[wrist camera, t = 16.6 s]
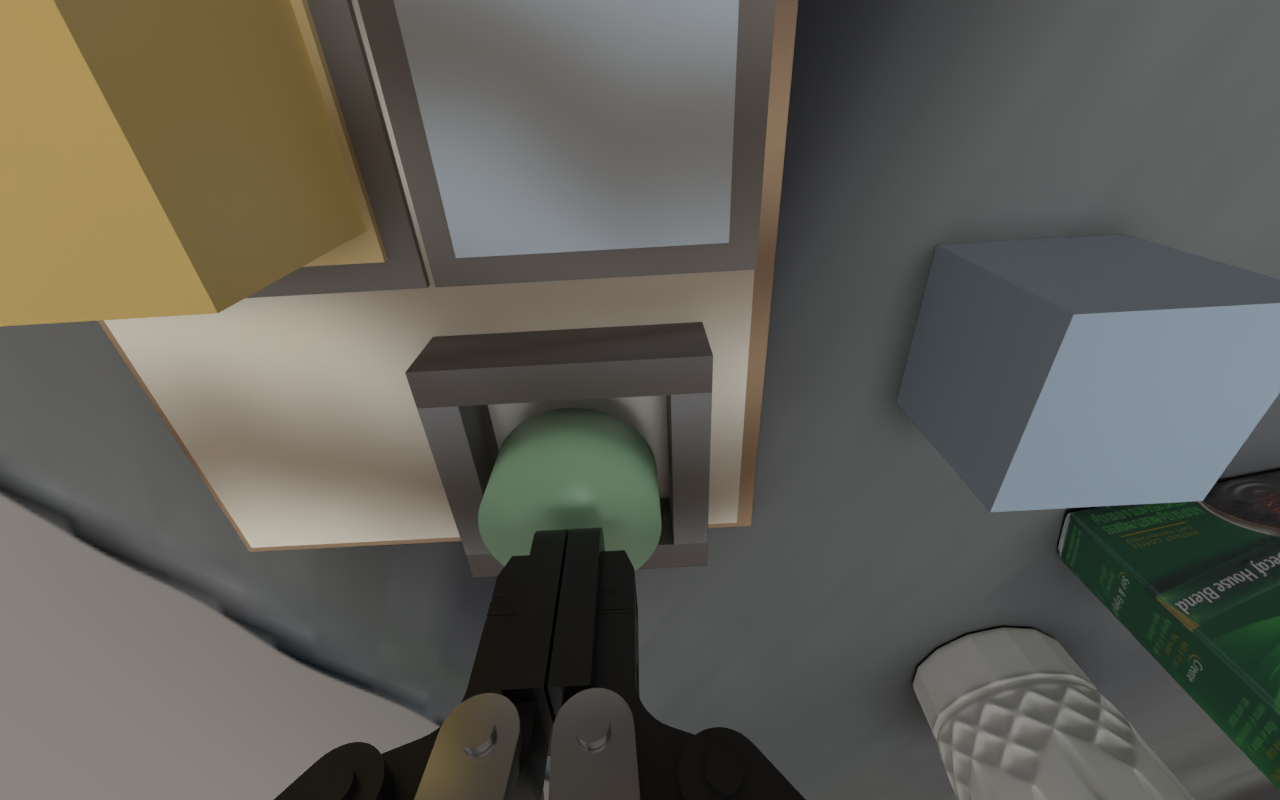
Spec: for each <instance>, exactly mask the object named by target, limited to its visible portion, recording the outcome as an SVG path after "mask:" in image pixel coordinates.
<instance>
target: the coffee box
mask: <svg viewBox="0 0 1280 800" xmlns="http://www.w3.org/2000/svg"><path fill="white" fill-rule="evenodd" d="M1058 549H1059V551H1060V558H1061V560H1062V561H1063V562H1064V563H1065V564H1066V565H1067V567H1068V568H1069V569H1070V570H1071V571H1072V572H1073V573H1074V574H1075V575H1076V576H1077V577H1078V578H1079V579H1080V580H1081V581H1082V582H1083V583H1084V584H1085V585H1086V587H1087V588H1088V589H1089V590H1090V591H1091V592H1092V593H1093V594H1094V595H1095V596H1096V597H1097V598H1098V599H1099V600H1100V601H1101V602H1102V603H1103V604H1104V605H1105V606H1106V607H1107V608H1108V609H1109V610H1110V611H1111V613H1112V614H1113V615H1114V616H1115V617H1116V618H1117V619H1118V620H1119V621H1120V622H1121V623H1122V624H1123V625H1124V626H1125V627H1126V628H1127V629H1128V630H1129V632H1130V633H1131V634H1132V635H1133V636H1134V637H1135V638H1136V639H1137V640H1138V641H1139V642H1140V644H1141V645H1142V646H1143V647H1144V648H1145V649H1146V650H1147V651H1148V652H1149V653H1150V654H1151V655H1152V656H1153V657H1154V658H1155V659H1156V660H1157V661H1158V663H1159V664H1160V665H1161V666H1162V667H1163V668H1164V669H1165V670H1166V671H1167V672H1168V673H1169V674H1170V675H1171V676H1172V677H1173V678H1174V679H1175V681H1176V682H1177V683H1178V684H1179V685H1180V686H1181V687H1182V688H1183V689H1184V690H1185V691H1186V692H1187V693H1188V694H1189V695H1190V696H1191V698H1192V699H1193V700H1194V701H1195V702H1196V703H1197V704H1198V705H1199V706H1200V707H1201V708H1202V709H1203V710H1204V711H1205V712H1206V713H1207V714H1208V715H1209V716H1210V717H1211V719H1212V720H1213V721H1214V722H1215V723H1216V724H1217V725H1218V726H1219V727H1220V728H1221V729H1222V730H1223V731H1224V732H1225V733H1226V735H1227V736H1228V737H1229V738H1230V739H1231V740H1232V741H1233V742H1234V743H1235V744H1236V745H1237V746H1238V747H1239V748H1240V749H1241V750H1242V751H1243V752H1244V753H1245V754H1246V755H1247V756H1248V758H1249V759H1250V760H1251V761H1252V762H1253V763H1254V764H1255V765H1256V767H1257V768H1258V769H1259V770H1260V771H1261V772H1262V773H1263V774H1264V775H1265V776H1266V777H1267V778H1268V779H1269V780H1270V781H1271V782H1272V783H1273V784H1274V785H1275V786H1276V787H1277V788H1278V789H1279V791H1280V470H1279V471H1275V472H1270V473H1265V474H1260V475H1254V476H1247V477H1242V478H1237V479H1233V480H1229V481H1225V482H1222V483H1217V484H1214V486H1213V487H1212V489H1211V490H1210V491H1209V493H1208V494H1207V496H1206V497H1205V498H1204V500H1203V501H1194V502H1175V503H1156V504H1137V505H1118V506H1101V507H1096V508H1092V509H1086V510H1081V511H1076V512H1071V513H1068V514H1067V516H1066V518H1065V521H1064V526H1063V529H1062V533H1061V538H1060V540H1059V546H1058Z"/></svg>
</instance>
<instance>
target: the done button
mask: <svg viewBox="0 0 1280 800" xmlns="http://www.w3.org/2000/svg"><path fill="white" fill-rule="evenodd" d="M478 526H479V531H480V535H481V537H482V540H483V542H484V544H485V545H486V547H487V549H488V550H489V552H490V553H491V554H492V555H493V556H494V558H496V559H497V560H498V561H499V562H500V563H501V564H502V565H503V566H505V565H506V564H507V563H508V561H509V560H510V558H511V557H512V556H523V555H530V551H531V546H532V541H533V537H534V534H535V532H536V531H544V530H564V529H568V530H570V529H580V528H600V527H602V530H603V537H604V545H605V551H619V550H625V552H626V554H627V555H628V557H629V559H630V561H631V563H632V565H633V567H634V571H636V570H637V569H639V568H640V567H641V566H642V565H643V564H644V563H645V562H646V561H647V560H648V559H649V558H650V557H651V555H652V554H653V552H654V551H655V549H656V547H657V545H658V542H659V539H660V535H661V512H660V499H659V486H658V473H657V464H656V460H655V457H654V454H653V452H652V450H651V448H650V446H649V444H648V443H647V441H646V440H645V439H644V438H643V436H642V435H641V434H640V433H639V432H638V431H637V430H635V429H634V428H633V427H632V426H631V425H629V424H627V423H626V422H624V421H623V420H621V419H619V418H617V417H615V416H613V415H610V414H607V413H604V412H601V411H597V410H592V409H585V408H561V409H554V410H550V411H545V412H543V413H540V414H537V415H535V416H533V417H531V418H529V419H527V420H525V421H524V422H522V423H521V424H519V425H518V426H517V427H516V428H515V429H513V430H512V431H511V432H510V434H509V435H508V436H507V437H506V439H505V440H504V442H503V444H502V445H501V448H500V450H499V453H498V456H497V459H496V462H495V465H494V467H493V470H492V473H491V476H490V479H489V482H488V484H487V487H486V490H485V493H484V496H483V499H482V502H481V504H480V507H479V513H478Z"/></svg>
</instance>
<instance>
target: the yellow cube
mask: <svg viewBox="0 0 1280 800" xmlns="http://www.w3.org/2000/svg"><path fill="white" fill-rule="evenodd" d="M366 231H367V230H366V227H365V224H364V221H363V218H362V215H361V212H360V209H359V206H358V203H357V200H356V197H355V194H354V191H353V188H352V185H351V182H350V179H349V176H348V173H347V170H346V167H345V164H344V161H343V158H342V155H341V152H340V149H339V146H338V143H337V140H336V137H335V134H334V131H333V128H332V125H331V122H330V119H329V115H328V112H327V109H326V106H325V103H324V100H323V97H322V94H321V91H320V88H319V85H318V82H317V79H316V76H315V73H314V70H313V67H312V64H311V61H310V58H309V55H308V52H307V49H306V46H305V43H304V40H303V37H302V34H301V31H300V28H299V25H298V22H297V19H296V16H295V13H294V10H293V7H292V4H291V1H290V0H0V326H17V325H33V324H50V323H66V322H83V321H99V320H115V319H132V318H148V317H165V316H181V315H198V314H214V313H219V312H221V311H223V310H225V309H226V308H228V307H230V306H232V305H234V304H235V303H237V302H239V301H241V300H243V299H245V298H246V297H248V296H250V295H252V294H254V293H255V292H257V291H259V290H261V289H263V288H264V287H266V286H268V285H270V284H272V283H273V282H275V281H277V280H279V279H281V278H282V277H284V276H286V275H288V274H290V273H291V272H293V271H295V270H297V269H299V268H301V267H302V266H304V265H306V264H308V263H310V262H311V261H313V260H315V259H317V258H319V257H320V256H322V255H324V254H326V253H328V252H329V251H331V250H333V249H335V248H337V247H338V246H340V245H342V244H344V243H346V242H348V241H349V240H351V239H353V238H355V237H357V236H358V235H360V234H362V233H364V232H366Z"/></svg>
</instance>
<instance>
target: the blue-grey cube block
mask: <svg viewBox="0 0 1280 800" xmlns="http://www.w3.org/2000/svg"><path fill="white" fill-rule="evenodd" d="M1279 393H1280V280H1279V279H1275V278H1272V277H1269V276H1265V275H1262V274H1258V273H1255V272H1252V271H1248V270H1245V269H1241V268H1238V267H1235V266H1231V265H1228V264H1224V263H1221V262H1218V261H1214V260H1211V259H1207V258H1204V257H1201V256H1197V255H1194V254H1190V253H1187V252H1184V251H1180V250H1177V249H1173V248H1170V247H1167V246H1163V245H1160V244H1156V243H1153V242H1149V241H1146V240H1143V239H1139V238H1136V237H1132V236H1129V235H1126V234H1116V235H1099V236H1081V237H1064V238H1047V239H1029V240H1012V241H995V242H977V243H960V244H943V245H936V249H935V253H934V256H933V260H932V264H931V268H930V272H929V276H928V280H927V284H926V288H925V292H924V296H923V300H922V304H921V308H920V312H919V316H918V320H917V324H916V328H915V331H914V335H913V339H912V343H911V347H910V351H909V355H908V359H907V363H906V367H905V371H904V375H903V379H902V383H901V387H900V391H899V395H898V399H897V404H898V405H899V406H900V407H901V409H902V410H903V411H904V412H905V413H906V414H907V416H908V417H909V418H910V419H911V420H912V421H913V423H914V424H915V425H916V426H917V427H918V428H919V430H920V431H921V432H922V433H923V434H924V435H925V437H926V438H927V439H928V440H929V441H930V442H931V444H932V445H933V446H934V447H935V448H936V449H937V451H938V452H939V453H940V454H941V455H942V456H943V458H944V459H945V460H946V461H947V462H948V463H949V465H950V466H951V467H952V468H953V469H954V471H955V472H956V473H957V474H958V475H959V476H960V478H961V479H962V480H963V481H964V482H965V483H966V485H967V486H968V487H969V488H970V489H971V490H972V492H973V493H974V494H975V495H976V496H977V497H978V499H979V500H980V501H981V502H982V503H983V504H984V506H985V507H986V508H987V509H988V510H989V511H990V512H1004V511H1023V510H1042V509H1061V508H1080V507H1099V506H1118V505H1137V504H1156V503H1175V502H1194V501H1203V500H1204V498H1205V497H1206V496H1207V494H1208V493H1209V491H1210V490H1211V489H1212V487H1213V486H1214V484H1215V483H1216V482H1217V480H1218V479H1219V477H1220V476H1221V475H1222V473H1223V472H1224V470H1225V469H1226V467H1227V466H1228V465H1229V463H1230V462H1231V460H1232V459H1233V458H1234V456H1235V455H1236V453H1237V452H1238V451H1239V449H1240V448H1241V446H1242V445H1243V444H1244V442H1245V441H1246V439H1247V438H1248V437H1249V435H1250V434H1251V432H1252V431H1253V430H1254V428H1255V427H1256V425H1257V424H1258V422H1259V421H1260V420H1261V418H1262V417H1263V415H1264V414H1265V413H1266V411H1267V410H1268V408H1269V407H1270V406H1271V404H1272V403H1273V401H1274V400H1275V399H1276V397H1277V396H1278V394H1279Z"/></svg>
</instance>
